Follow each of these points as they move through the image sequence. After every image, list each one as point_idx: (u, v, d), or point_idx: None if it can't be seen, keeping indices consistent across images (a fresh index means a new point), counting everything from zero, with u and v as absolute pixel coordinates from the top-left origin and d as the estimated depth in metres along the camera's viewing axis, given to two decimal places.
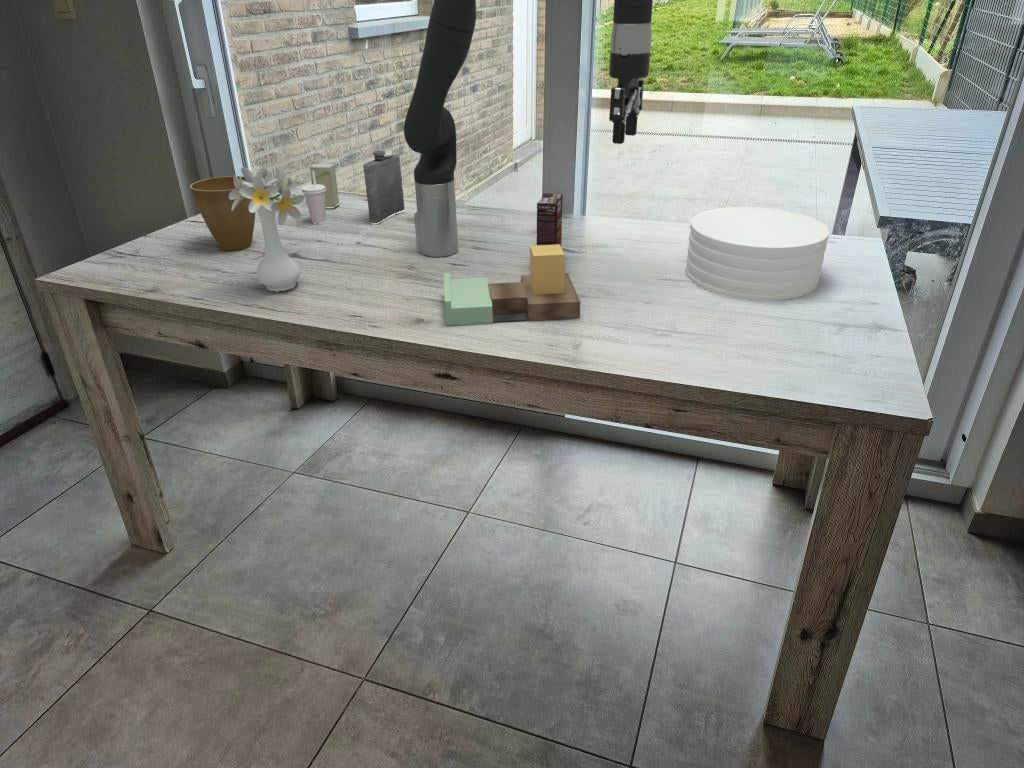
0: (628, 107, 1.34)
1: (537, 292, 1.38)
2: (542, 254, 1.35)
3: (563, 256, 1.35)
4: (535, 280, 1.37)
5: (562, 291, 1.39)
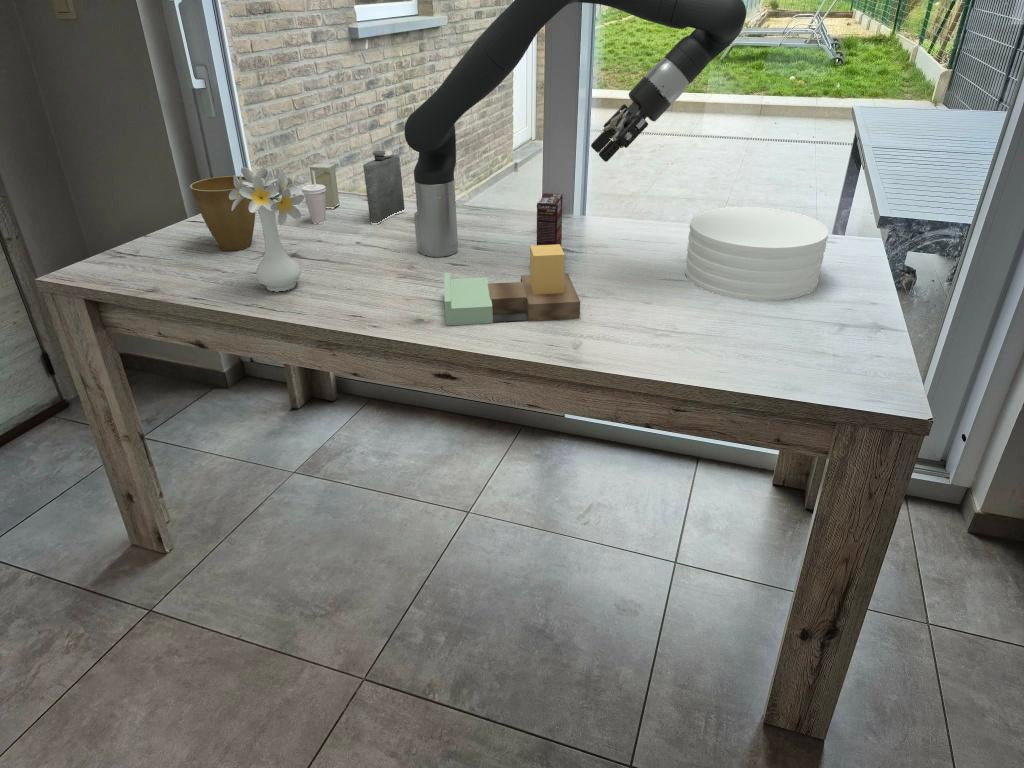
0: (631, 137, 1.36)
1: (537, 292, 1.38)
2: (542, 254, 1.35)
3: (563, 256, 1.35)
4: (535, 280, 1.37)
5: (562, 291, 1.39)
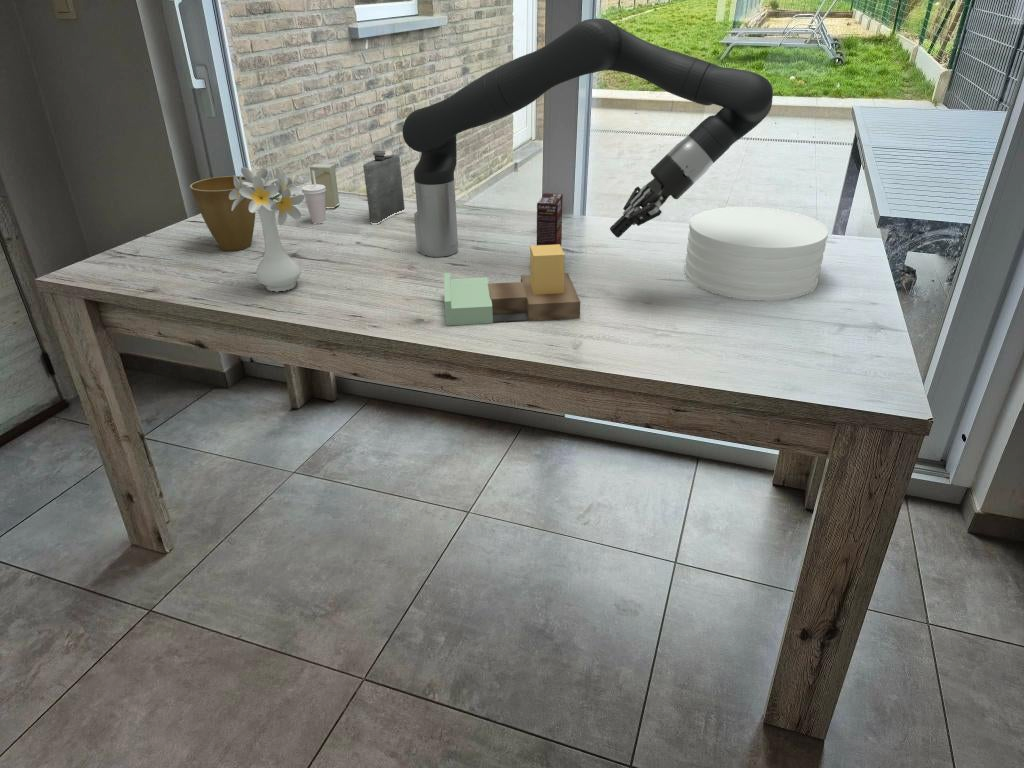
0: None
1: (537, 292, 1.38)
2: (542, 254, 1.35)
3: (563, 256, 1.35)
4: (535, 280, 1.37)
5: (562, 291, 1.39)
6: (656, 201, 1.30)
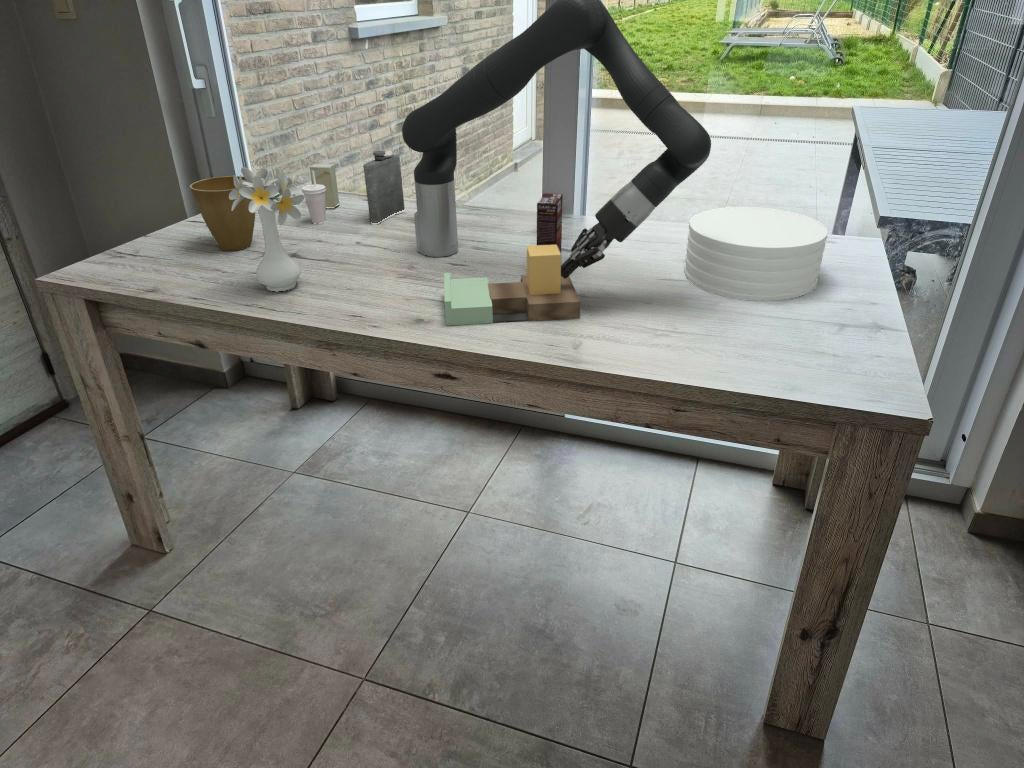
0: None
1: (533, 292, 1.38)
2: (538, 254, 1.35)
3: (560, 256, 1.35)
4: (532, 280, 1.37)
5: (559, 291, 1.39)
6: (600, 245, 1.33)
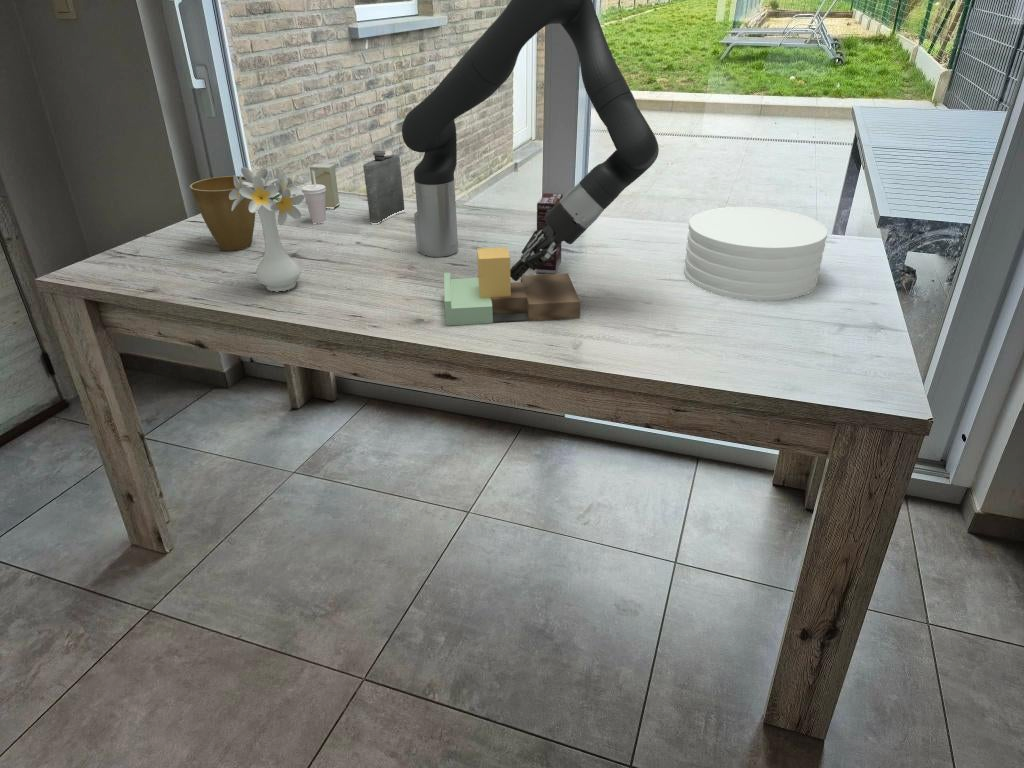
0: None
1: (483, 295, 1.37)
2: (487, 257, 1.34)
3: (509, 259, 1.34)
4: (481, 283, 1.36)
5: (509, 294, 1.38)
6: (548, 247, 1.32)
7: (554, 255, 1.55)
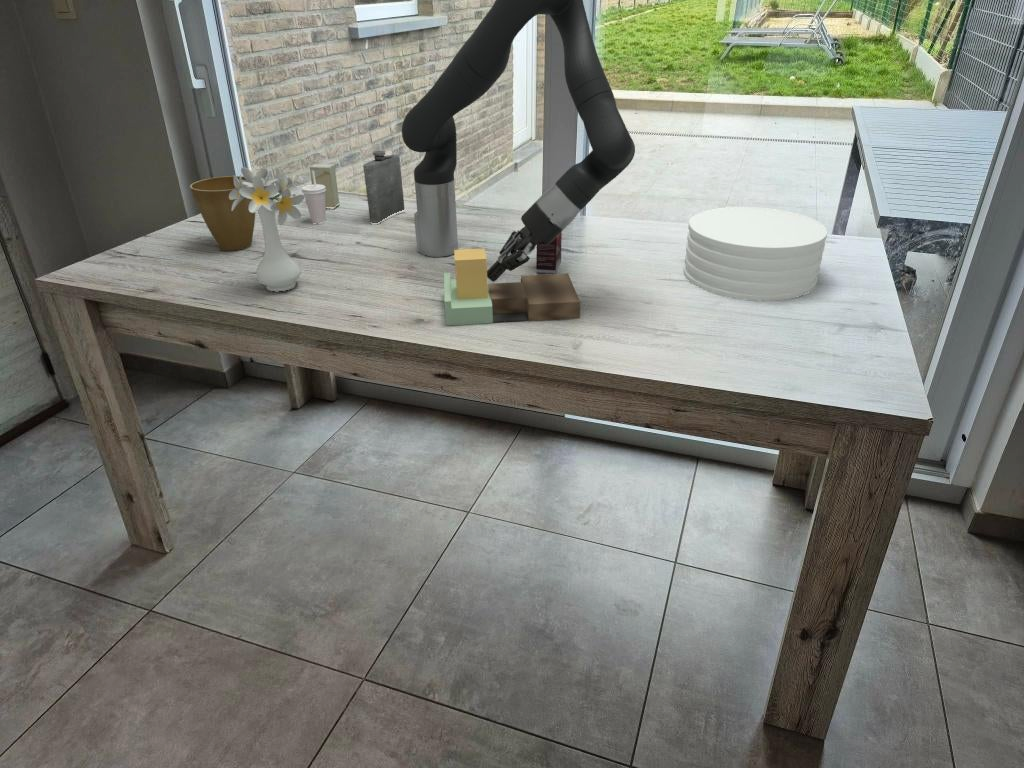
0: None
1: (460, 296, 1.37)
2: (464, 258, 1.34)
3: (485, 260, 1.34)
4: (458, 285, 1.36)
5: (486, 295, 1.37)
6: (524, 248, 1.32)
7: (554, 255, 1.55)
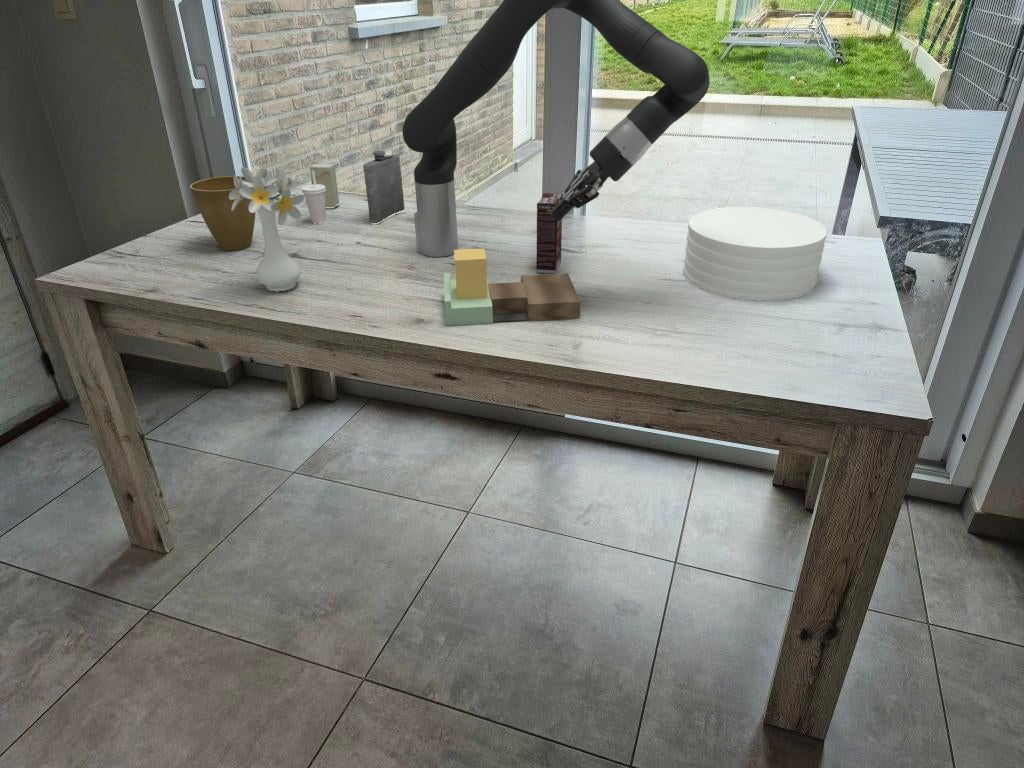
0: None
1: (460, 296, 1.37)
2: (464, 258, 1.34)
3: (485, 260, 1.34)
4: (458, 285, 1.36)
5: (486, 296, 1.37)
6: (594, 183, 1.29)
7: (554, 255, 1.55)
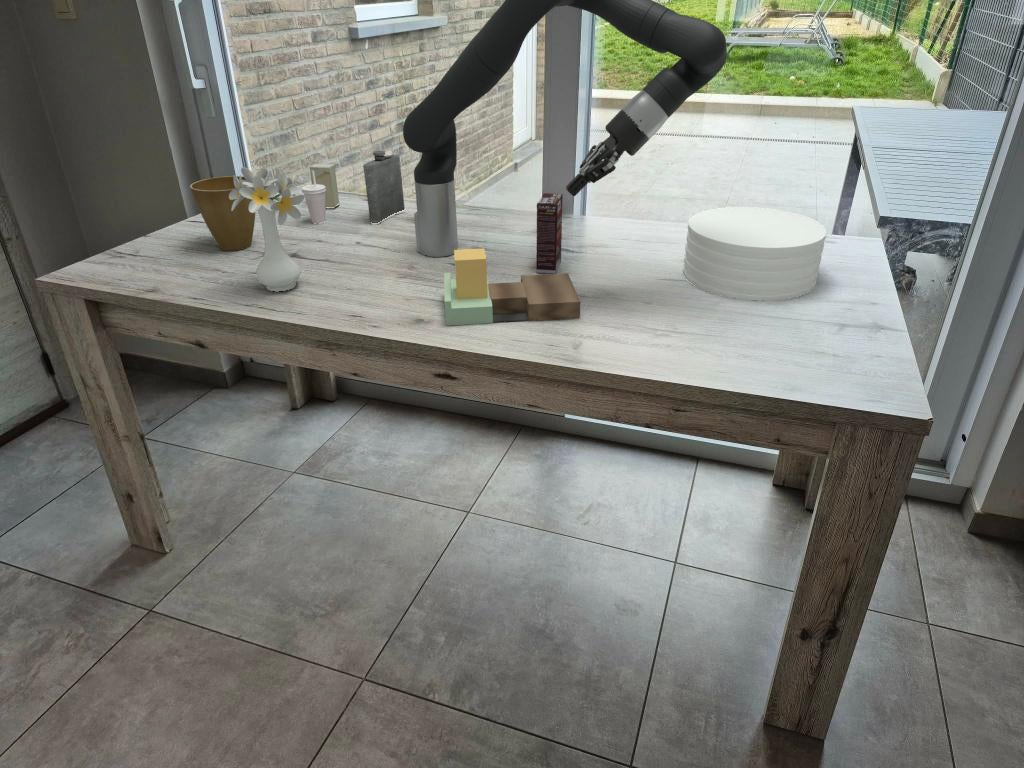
0: None
1: (460, 296, 1.37)
2: (464, 258, 1.34)
3: (485, 260, 1.34)
4: (458, 285, 1.36)
5: (486, 296, 1.37)
6: (610, 157, 1.28)
7: (554, 255, 1.55)
